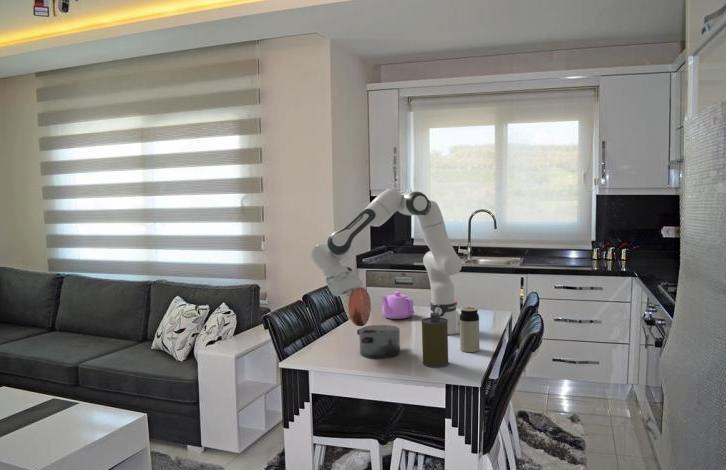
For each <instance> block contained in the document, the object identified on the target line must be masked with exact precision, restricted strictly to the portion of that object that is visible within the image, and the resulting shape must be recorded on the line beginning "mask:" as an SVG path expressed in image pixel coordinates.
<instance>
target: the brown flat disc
mask: <svg viewBox="0 0 726 470" xmlns="http://www.w3.org/2000/svg"><path fill="white" fill-rule="evenodd" d="M371 312H372V303H371V297H370V294H369V292H368V290H367V289H366V288H365V287H363V286H362V287H357V288H355V289H354V290H353V291H352V293H351V295H350V297H349V299H348V315H349V317H350V321H351V323H352V324H354V325H355V326H357V327H365V326H366V324H367V323H368V322H369V319H370V316H371Z"/></svg>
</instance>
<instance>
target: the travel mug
mask: <svg viewBox="0 0 726 470" xmlns="http://www.w3.org/2000/svg"><path fill="white" fill-rule="evenodd" d="M459 310H460V313H459V314H460V334H459V341H460V342H459V346H460V347H459V349H460V351H462V352H465V353H477V352H479V351H480V315H479V313H478V310H479V308H478V307H476V306H470V305H469V306H467V305H466V306H462V307H460V309H459Z"/></svg>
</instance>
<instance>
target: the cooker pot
mask: <svg viewBox="0 0 726 470" xmlns="http://www.w3.org/2000/svg"><path fill="white" fill-rule="evenodd" d="M356 331H357V332H356V333H357V335H358V336H359V337H358V339H359V355H360V356H361V357H364V358H367V359H373V360H374V359H375V360H378V359H380V360H384V359H391V358H395V357H397V356H399V355H400V354H401V339H400V338H401V337H400V328H399V327H398V326H395V325H390V324H389V325H388V324H373V325H371V324H370V325H365V326H362V327H361V328H359V329H357V330H356Z"/></svg>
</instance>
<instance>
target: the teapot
mask: <svg viewBox="0 0 726 470" xmlns="http://www.w3.org/2000/svg"><path fill="white" fill-rule="evenodd" d="M381 298H382V299H381V301H382V306H381V313H382V314H383V316H384V317H385V318H387V319H394V320H403V319H408V318H411V316H414V315H415V313H416V312H415V310H414V299H412V298H411V297H408V296H407V295H406V294H402V293H401V291H394V292H393V294H384V296H381Z"/></svg>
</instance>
